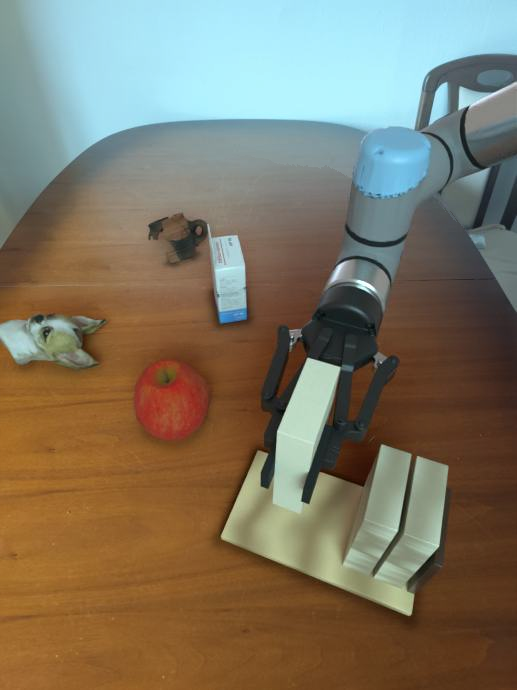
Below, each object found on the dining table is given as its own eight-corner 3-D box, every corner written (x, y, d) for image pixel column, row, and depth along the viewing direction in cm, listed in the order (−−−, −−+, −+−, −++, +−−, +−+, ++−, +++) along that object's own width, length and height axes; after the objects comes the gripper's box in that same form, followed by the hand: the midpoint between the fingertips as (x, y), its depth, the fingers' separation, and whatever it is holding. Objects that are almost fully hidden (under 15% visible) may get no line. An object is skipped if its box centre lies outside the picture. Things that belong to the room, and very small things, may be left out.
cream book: (323, 445, 50) (341, 366, 39) (301, 514, 45) (314, 444, 34) (296, 436, 50) (307, 356, 40) (271, 503, 45) (276, 431, 35)
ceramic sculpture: (-1, 292, 69) (100, 290, 70) (18, 331, 75) (110, 328, 77) (-23, 345, 62) (90, 341, 63) (1, 383, 68) (102, 378, 70)
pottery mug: (156, 270, 87) (138, 228, 84) (164, 260, 96) (148, 222, 93) (214, 251, 86) (199, 208, 83) (217, 242, 95) (203, 203, 92)
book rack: (424, 512, 55) (466, 453, 44) (409, 616, 48) (455, 577, 37) (257, 453, 61) (257, 387, 49) (221, 539, 53) (210, 484, 42)
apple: (215, 389, 68) (209, 342, 60) (207, 451, 61) (199, 407, 53) (147, 387, 68) (132, 340, 60) (132, 448, 61) (113, 405, 53)
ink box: (247, 320, 77) (245, 250, 66) (219, 324, 77) (212, 254, 66) (240, 288, 83) (237, 218, 72) (213, 291, 82) (206, 221, 71)
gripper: (412, 348, 53) (371, 539, 39) (284, 313, 57) (203, 475, 43) (431, 301, 48) (390, 505, 33) (287, 266, 52) (194, 435, 37)
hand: (285, 488), depth 38 cm, fingers closed on cream book, 3 cm apart
